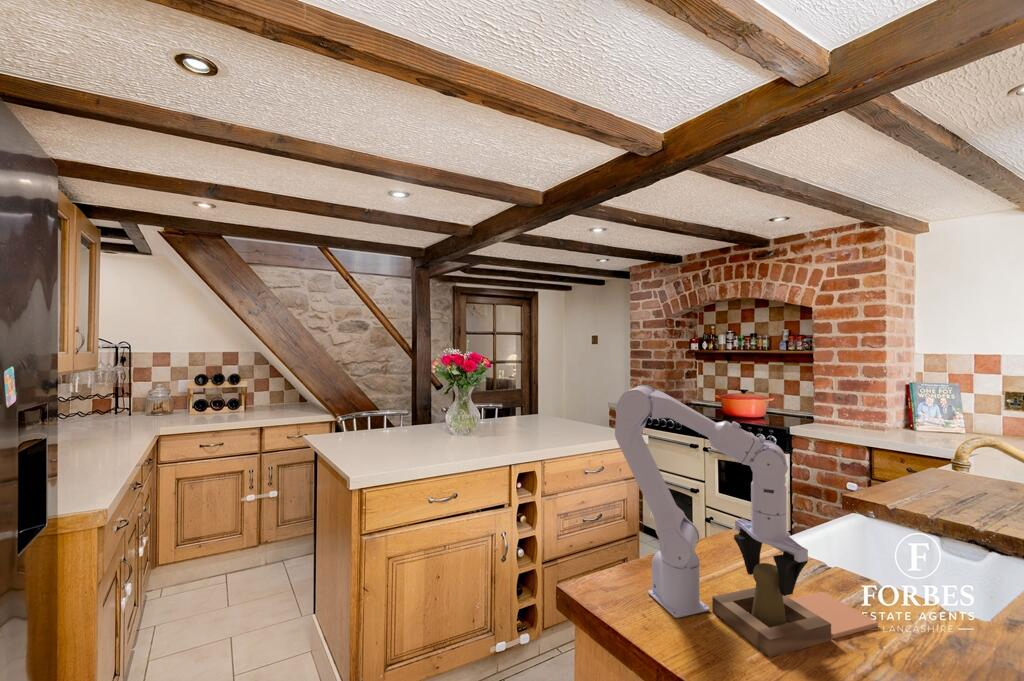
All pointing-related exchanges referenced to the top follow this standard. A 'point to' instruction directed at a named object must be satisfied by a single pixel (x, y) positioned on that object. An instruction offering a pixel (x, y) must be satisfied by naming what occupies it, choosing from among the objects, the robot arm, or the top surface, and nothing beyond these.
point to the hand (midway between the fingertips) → (769, 583)
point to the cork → (768, 596)
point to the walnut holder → (774, 640)
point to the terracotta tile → (836, 614)
